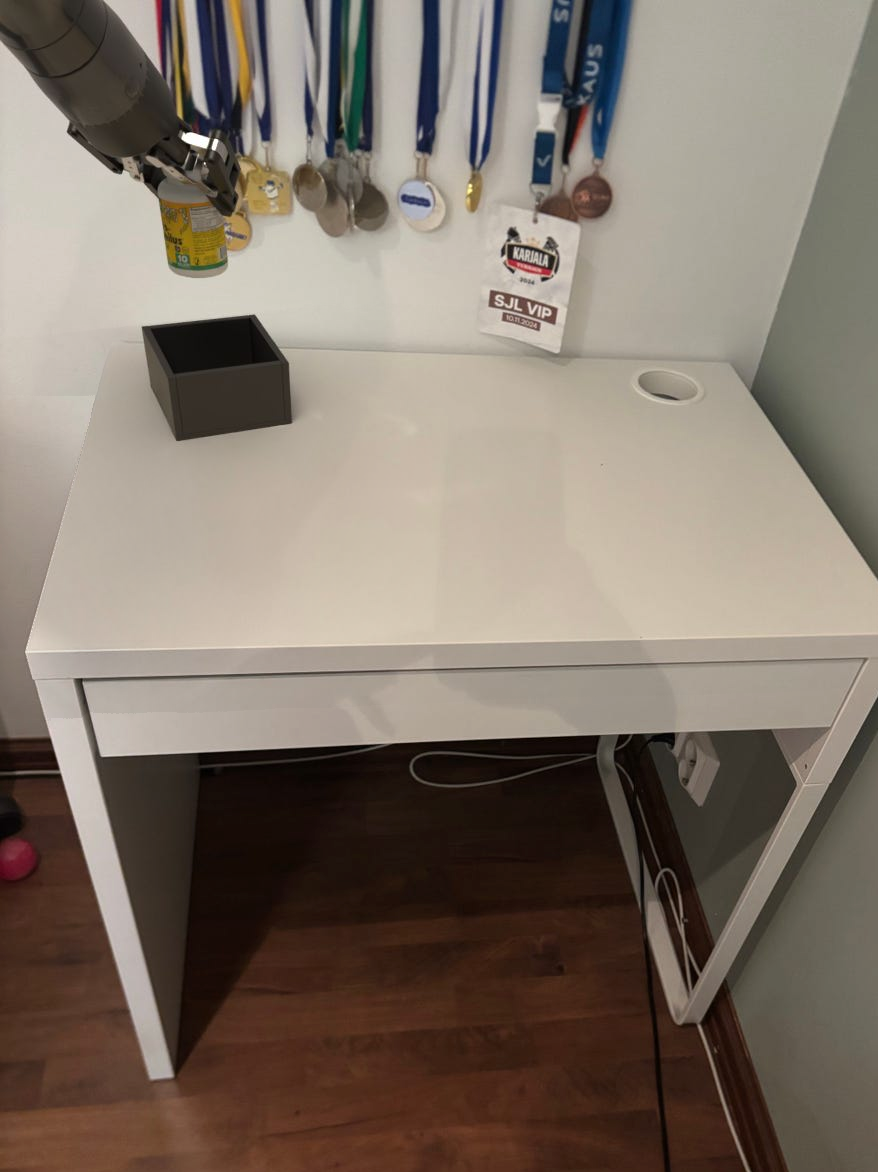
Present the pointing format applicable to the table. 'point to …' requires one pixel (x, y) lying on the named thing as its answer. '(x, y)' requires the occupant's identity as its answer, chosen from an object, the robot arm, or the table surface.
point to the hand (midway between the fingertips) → (199, 200)
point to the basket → (217, 376)
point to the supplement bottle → (191, 229)
